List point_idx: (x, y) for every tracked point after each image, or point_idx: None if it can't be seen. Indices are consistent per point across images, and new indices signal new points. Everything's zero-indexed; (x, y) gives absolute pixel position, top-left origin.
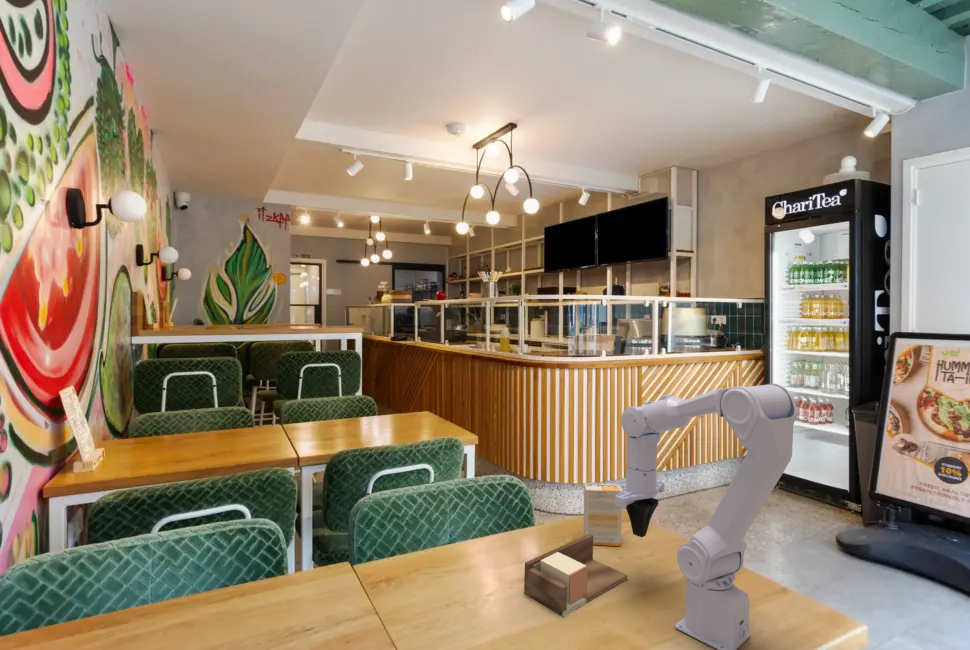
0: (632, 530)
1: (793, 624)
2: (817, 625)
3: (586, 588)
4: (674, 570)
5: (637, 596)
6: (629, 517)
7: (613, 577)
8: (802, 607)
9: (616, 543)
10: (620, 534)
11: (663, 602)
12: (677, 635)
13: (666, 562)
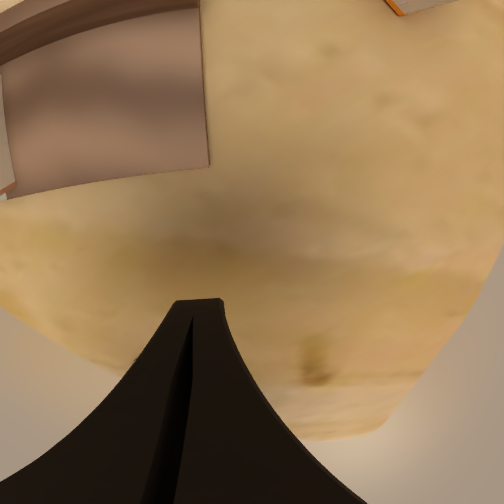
0: (169, 310)
1: (328, 420)
2: (348, 427)
3: (3, 192)
4: (386, 225)
5: (152, 248)
6: (116, 385)
7: (149, 149)
8: (387, 404)
9: (393, 2)
10: (423, 7)
11: None
12: (123, 367)
13: (415, 182)
